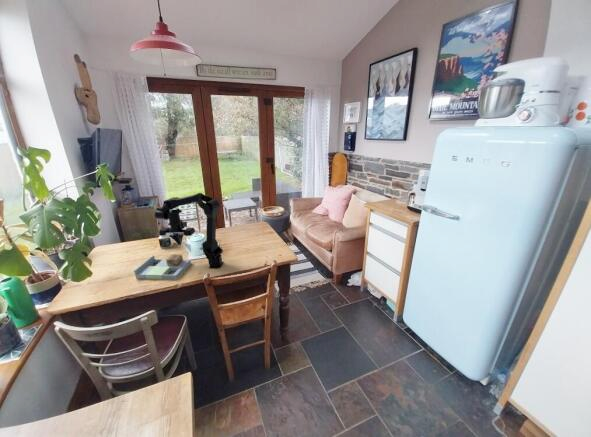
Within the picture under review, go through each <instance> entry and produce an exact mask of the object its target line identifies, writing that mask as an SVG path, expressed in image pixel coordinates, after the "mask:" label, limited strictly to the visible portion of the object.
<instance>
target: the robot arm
mask: <svg viewBox="0 0 591 437" xmlns="http://www.w3.org/2000/svg"><path fill="white" fill-rule="evenodd" d="M162 203H163V204H162V206H161V207H157V208H156V211H155V213H154V217H155V219H156V220H164V221H167V220H168V221H169V223H168V226H170V227H162V228H161V229H159V230H160V231H159V230H158V235H159V237H160V236H164V235H165V234H166V233H169V234H170V236H169V237H171V238H172V239H173V241H174V242H175V243H176V244H177V245H178V246H181V245H182V242H183V238H184V236H185V237H190V236H193V235H194V233H196V228H194V227H188V222H187V221H183V220H182V219H181V216H180V213H182V212H183V210H181V209H180V208H178V207H181V206H184V205H189V204H193V203H195V204H197V205H198V207H199V208H200V209H202V210H203V213H204V215H205V217H206V233H205V234H206V238H205V239H206V240H205V241H203V242H202V244H201V246H202V247H201V250H202V253H203V254H204V256H205V258H206V259H207V260H208V265H209V266H208V269H221V267H222V265H224V261H223V258H222V254H223V251H224V250H223V249H222V247H220V245H219V244H218V241H217V238H216V237H217V236H216V235H217V234H216V232H217V215H218V214H219V211H220V207H221V204H220V202H219V201H218V200H217V199H215V198H213V197H211V196H208V195H205V194H203V193H202V192H198V193H196V194H191V195H186V196H183V197H178V196H175V197H171V198H167V199H166V200H163V202H162Z"/></svg>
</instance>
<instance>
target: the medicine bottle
mask: <svg viewBox="0 0 591 437" xmlns="http://www.w3.org/2000/svg"><path fill="white" fill-rule="evenodd" d="M160 230H161V229H159V230H158V232H159V231H160ZM169 236H170V234H169V233H166V234H165V235H164V236H160V235H159V237H158V243H159V247H160V249H164V248H165V249H166V248H172V247H173V245H174V243H175V240H174V239H172V238H171V237H169Z"/></svg>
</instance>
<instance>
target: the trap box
mask: <svg viewBox="0 0 591 437" xmlns="http://www.w3.org/2000/svg"><path fill="white" fill-rule="evenodd" d="M166 259H167V258H166ZM166 259H165V258H163V259H162V258H155V255H154V254H153V255H151V256H149V258H147V259H146V260H145V261H144V262H143V263H142V264H140V265H139V266H137V267H136V268H135V269H134V270H133V271H134V275H135V278H136V279H139V280H140V279H145V280H148V279H149V280H178V279H179V278H180V277H181V276H182V274H184V272H185V271H186V270H187V269H188V268H189V266H190V265H191V264H192V261H191V259H183V261H182V262H181V263H180V264H179V265H178V266H167V262H166Z"/></svg>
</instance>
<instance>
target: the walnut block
mask: <svg viewBox="0 0 591 437" xmlns="http://www.w3.org/2000/svg"><path fill="white" fill-rule="evenodd" d="M183 260H184V258H183V255H182V254H180V253H179V254H173V253H172V254H171V255H170V256H168V257H167V258H166V262H167V266H178V265H179V264H180V263H181V262H182V261H183Z"/></svg>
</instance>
